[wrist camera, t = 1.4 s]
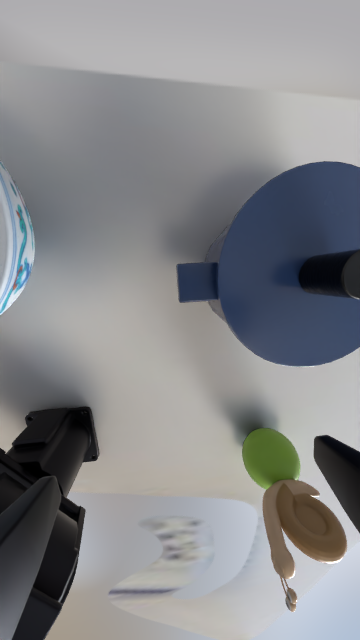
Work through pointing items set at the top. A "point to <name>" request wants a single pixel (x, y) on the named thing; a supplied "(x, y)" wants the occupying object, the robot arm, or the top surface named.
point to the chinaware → (13, 241)
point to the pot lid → (295, 267)
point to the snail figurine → (290, 506)
